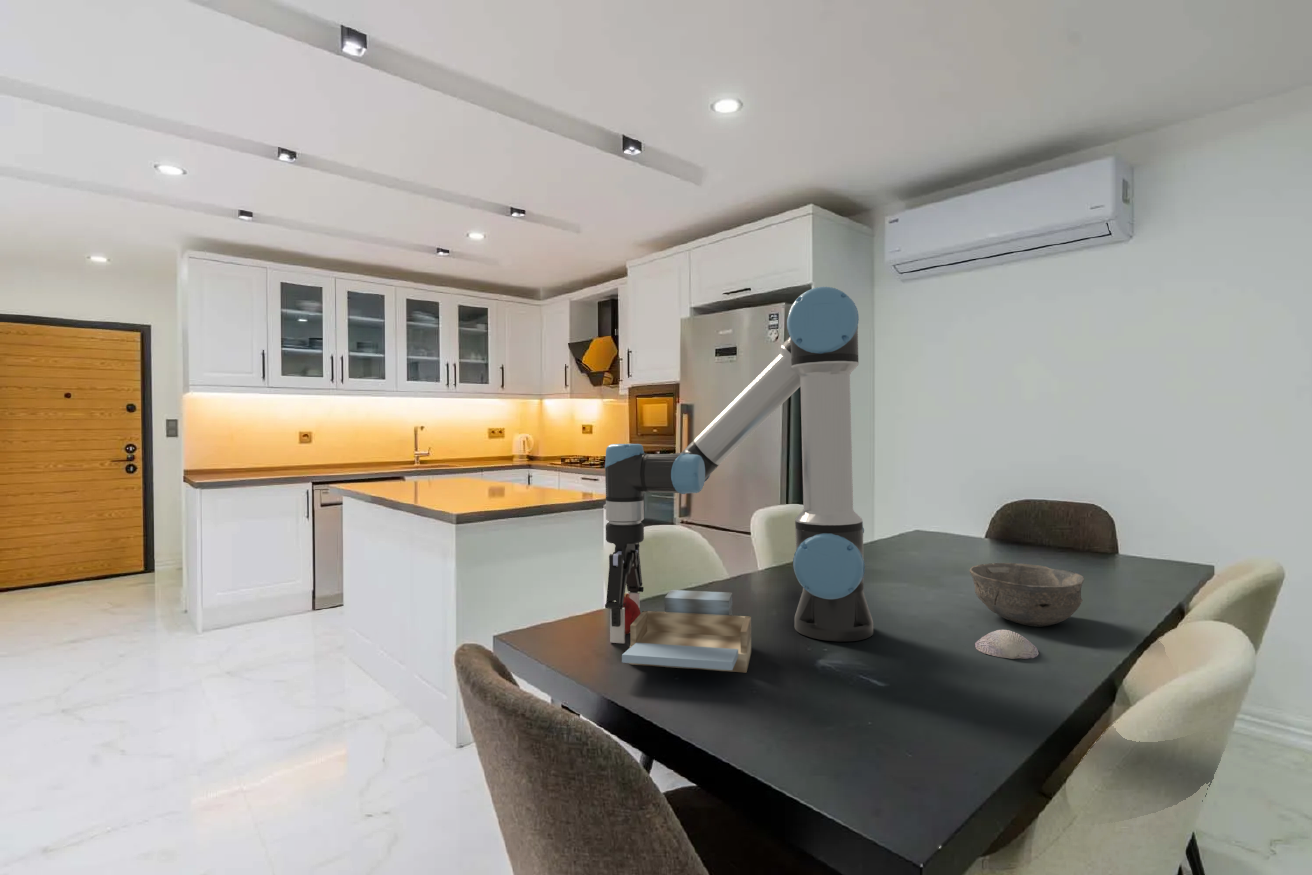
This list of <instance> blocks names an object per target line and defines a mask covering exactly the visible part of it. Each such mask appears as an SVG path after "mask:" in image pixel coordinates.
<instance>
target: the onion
mask: <svg viewBox="0 0 1312 875" xmlns="http://www.w3.org/2000/svg"><path fill="white" fill-rule="evenodd" d="M629 596H630V595H629V594H628V593H627V592H625V595H624V602H623V608H625V635H628V634H630V625H631V624H632V623H633V622H634V621H635V619H636V618H637V617H638V616H639V615H640V614H641V613H642V611H641V610H640V609H639V607H638V605H637V604H636V602H635V601H633V600H632V599H630V597H629Z"/></svg>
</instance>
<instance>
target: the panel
mask: <svg viewBox="0 0 1312 875" xmlns="http://www.w3.org/2000/svg"><path fill="white" fill-rule="evenodd" d="M629 647H630V646H629ZM737 658H738V649H728V648H713V647H697V646H681V645H665V644H650V643H635V644H634V645H633V646H632V647H630V648H628V649H627V650H625V652H623V653H622V654H621V663H624V664H625V663H626V664H630V663H637V664H651V665H662V666H668V667H667V668H674V667H682V668H681V669H688V668H707V669H721V670H733V668H734V665H735V663H736V661H737Z"/></svg>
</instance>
